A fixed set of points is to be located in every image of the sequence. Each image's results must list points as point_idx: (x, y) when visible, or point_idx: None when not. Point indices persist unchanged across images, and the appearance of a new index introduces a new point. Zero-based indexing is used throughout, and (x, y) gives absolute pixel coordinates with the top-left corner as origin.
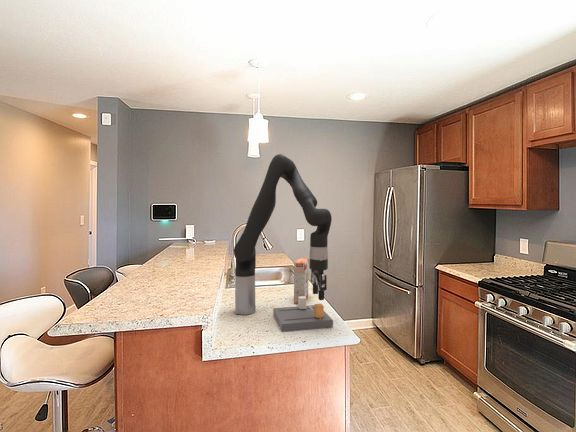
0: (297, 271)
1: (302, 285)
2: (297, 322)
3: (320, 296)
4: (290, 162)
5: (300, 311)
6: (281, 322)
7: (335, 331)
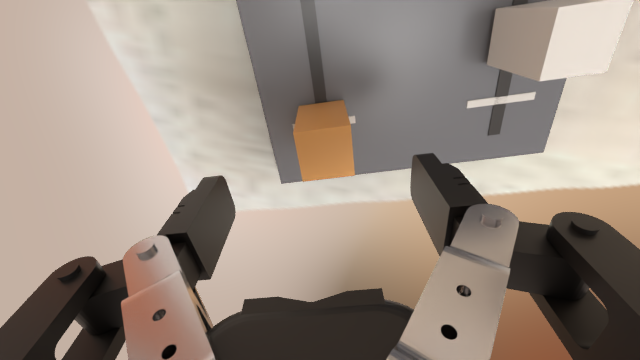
0: None
1: None
2: None
3: (178, 207)
4: None
5: (462, 9)
6: None
7: (237, 166)
